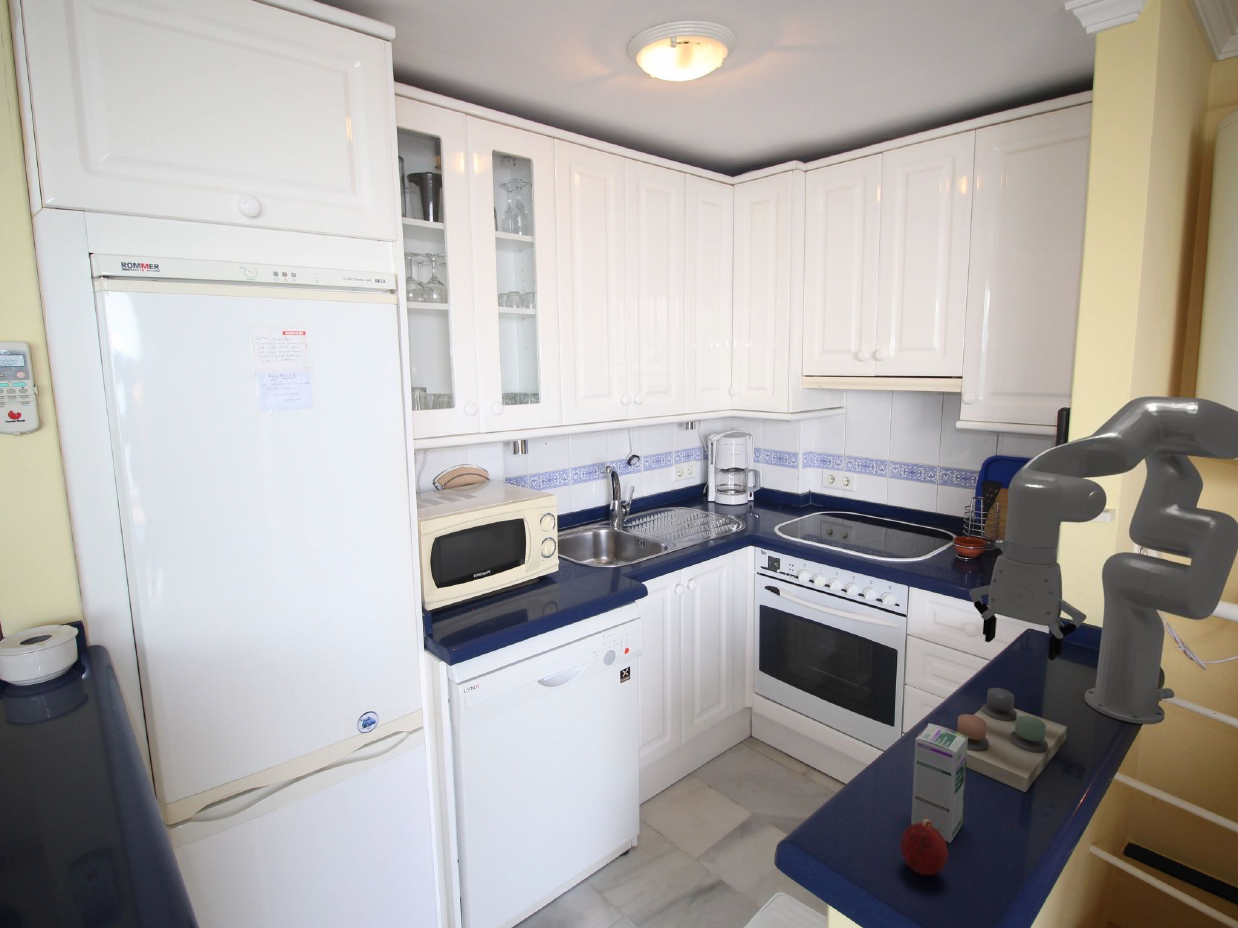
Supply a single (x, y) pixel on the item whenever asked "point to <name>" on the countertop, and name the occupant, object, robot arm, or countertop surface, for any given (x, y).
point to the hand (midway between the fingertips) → (1020, 648)
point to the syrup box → (939, 779)
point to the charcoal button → (1000, 699)
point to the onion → (924, 848)
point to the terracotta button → (972, 726)
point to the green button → (1030, 728)
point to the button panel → (1012, 748)
